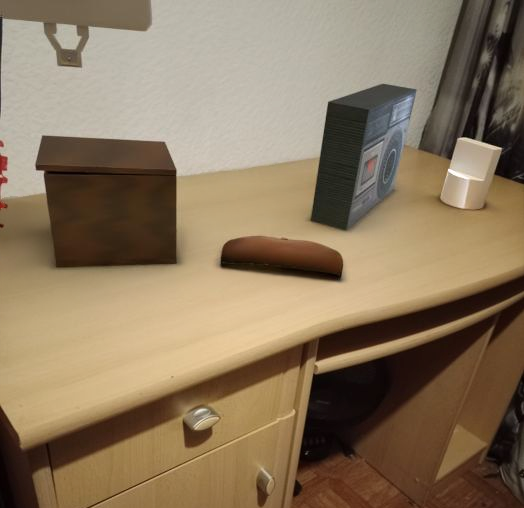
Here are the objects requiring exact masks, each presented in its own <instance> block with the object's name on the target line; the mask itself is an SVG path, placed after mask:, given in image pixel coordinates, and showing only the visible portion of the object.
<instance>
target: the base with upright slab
mask: <svg viewBox="0 0 524 508" xmlns="http://www.w3.org/2000/svg"><path fill="white" fill-rule="evenodd" d="M456 140H457V141H456V143H455V147H454V150H453V153H452V157H451V161H450V163H449V168H448V169H447V173H446V176H445V178H444V179H445V180H444V182H443V186H442V190H441V193H440V194H441V195H440V200H441V202H442V203H444V204H446V205H448V206H451V207H454V208H458V209H463V210H471V211H472V210H473V211H474V210H480V209H483V208H484V206H485V203H486V200H487V197H488V194H489V191H490V188H491V185H492V182H493V179H494V175H495V172H496V169H497V165H498V163H499V160H500V158H501V154H502V151H503V148H502V147H499V146H496V145H492V144H490V143H486V142H483V141H480V140H477V139H472V138H470V137H469V138H468V137H459V138H457V139H456Z"/></svg>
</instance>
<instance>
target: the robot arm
mask: <svg viewBox="0 0 524 508" xmlns="http://www.w3.org/2000/svg"><path fill="white" fill-rule="evenodd" d="M1 15H2V16H1ZM0 17H2V19H4V20H13V21H25V22H36V23H43V32H44V35H45V37H46V38H47V40H48V42H49V44H50V46H52V48H53V50H54V51H55V55H56V64H57V67H68V68H79V69H83V59H82V57H83V56H82V53H83V51H84V49H85V47H86V45H87V43H88V40H89V39H90V28H99V29H112V30H124V31H134V32H148V30H149V29H150V28H151V26H152V25H153V9H152V0H0ZM58 25H66V26H67V25H68V26H76V27H75V28H76V36H77V37H80V38H79V41H78V42H77V46H76V48H75V49H71V48H70V49H69V48H62V46H61V44H60V43H59V41H58V38H57V37H56V35H57V33H58Z"/></svg>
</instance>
